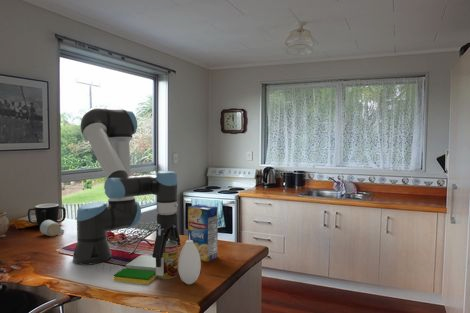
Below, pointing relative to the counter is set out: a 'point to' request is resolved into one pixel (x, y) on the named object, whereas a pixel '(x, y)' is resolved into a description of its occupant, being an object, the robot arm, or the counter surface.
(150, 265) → the block
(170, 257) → the canned food
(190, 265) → the sauce bottle
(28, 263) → the counter surface
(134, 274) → the dish sponge
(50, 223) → the ceramic mug
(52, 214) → the mug
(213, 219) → the beverage box
